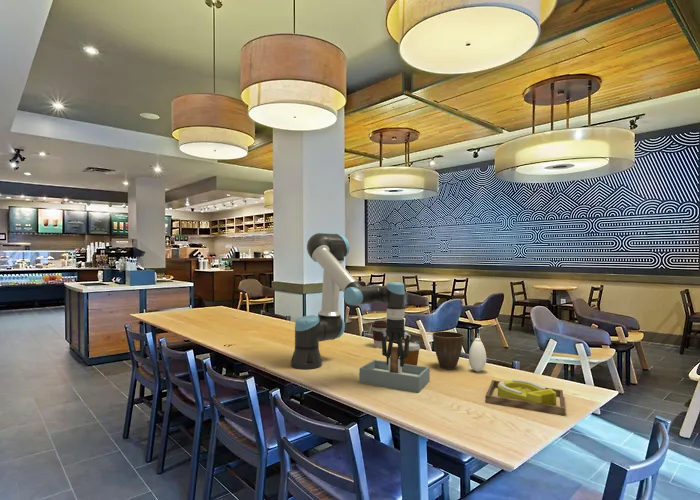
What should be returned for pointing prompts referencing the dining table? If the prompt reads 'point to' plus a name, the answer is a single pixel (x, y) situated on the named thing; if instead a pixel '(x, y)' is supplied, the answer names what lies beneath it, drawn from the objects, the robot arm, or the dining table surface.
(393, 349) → the dowel
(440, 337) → the plant pot
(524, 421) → the dining table surface
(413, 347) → the disposable coffee cup
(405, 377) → the tray
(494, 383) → the brown wooden frame
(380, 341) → the coffee cup
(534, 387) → the yellow-green curved block
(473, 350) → the white bulb air blower
